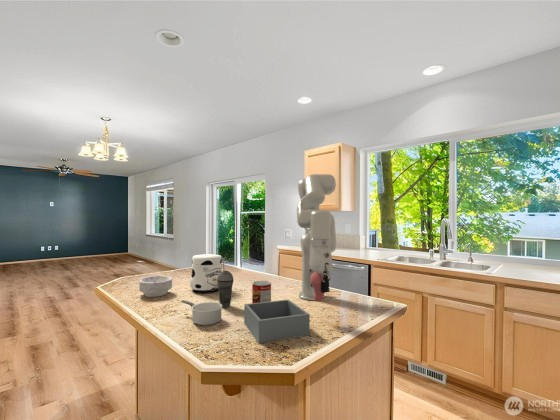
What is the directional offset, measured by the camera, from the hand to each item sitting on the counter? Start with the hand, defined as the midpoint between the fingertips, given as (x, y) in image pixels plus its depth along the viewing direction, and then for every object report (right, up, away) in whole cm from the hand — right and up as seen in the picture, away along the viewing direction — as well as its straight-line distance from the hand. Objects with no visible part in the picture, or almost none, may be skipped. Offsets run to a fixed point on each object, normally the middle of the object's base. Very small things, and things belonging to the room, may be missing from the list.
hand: (319, 288), depth 109 cm
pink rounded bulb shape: (0, -5, 0) cm, 5 cm away
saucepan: (-47, -12, +1) cm, 48 cm away
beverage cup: (-39, -12, +17) cm, 45 cm away
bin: (-17, -12, -8) cm, 22 cm away
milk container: (-55, -13, +44) cm, 71 cm away
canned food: (-23, -13, +10) cm, 28 cm away
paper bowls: (-77, -12, +34) cm, 85 cm away
